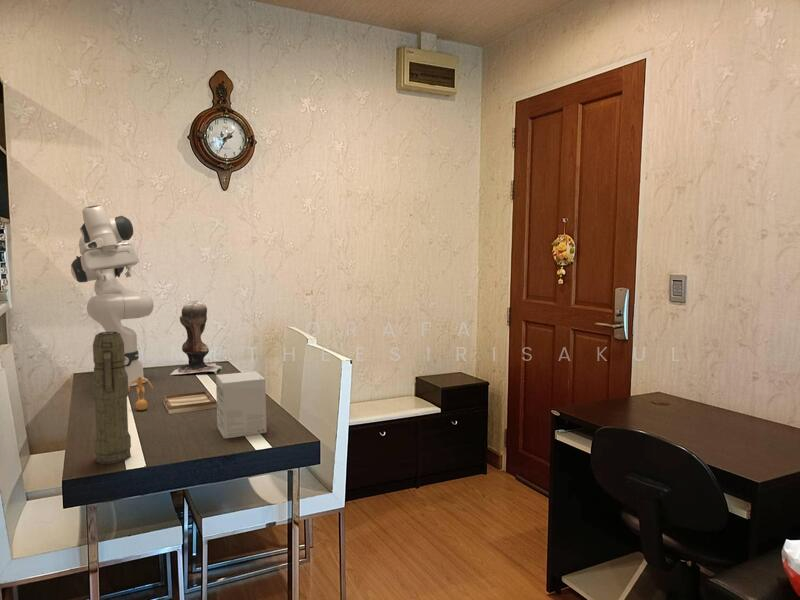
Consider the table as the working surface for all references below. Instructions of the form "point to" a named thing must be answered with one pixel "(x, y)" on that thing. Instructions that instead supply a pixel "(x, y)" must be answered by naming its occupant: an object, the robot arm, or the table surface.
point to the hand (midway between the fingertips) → (116, 278)
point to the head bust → (195, 339)
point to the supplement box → (241, 404)
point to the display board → (188, 402)
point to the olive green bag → (110, 399)
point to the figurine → (142, 403)
